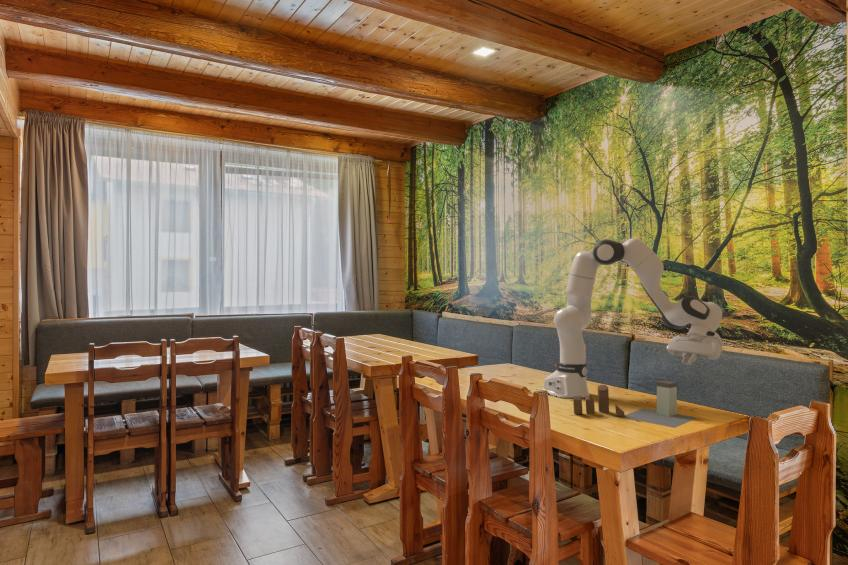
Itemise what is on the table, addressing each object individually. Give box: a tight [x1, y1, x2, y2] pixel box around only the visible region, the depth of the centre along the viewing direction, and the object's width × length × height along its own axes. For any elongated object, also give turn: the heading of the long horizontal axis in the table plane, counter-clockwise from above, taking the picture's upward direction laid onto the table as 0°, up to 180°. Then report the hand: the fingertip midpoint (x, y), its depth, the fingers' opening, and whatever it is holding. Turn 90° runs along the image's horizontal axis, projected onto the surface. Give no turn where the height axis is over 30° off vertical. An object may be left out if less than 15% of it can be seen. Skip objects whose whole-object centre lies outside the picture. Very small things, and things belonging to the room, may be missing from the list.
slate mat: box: [619, 407, 698, 428], centre depth 203 cm, size 20×20×1 cm
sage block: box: [656, 380, 678, 416], centre depth 208 cm, size 5×5×12 cm
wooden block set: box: [572, 384, 626, 417], centre depth 208 cm, size 18×9×10 cm, turn 76°
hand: (685, 363), depth 215 cm, fingers closed
